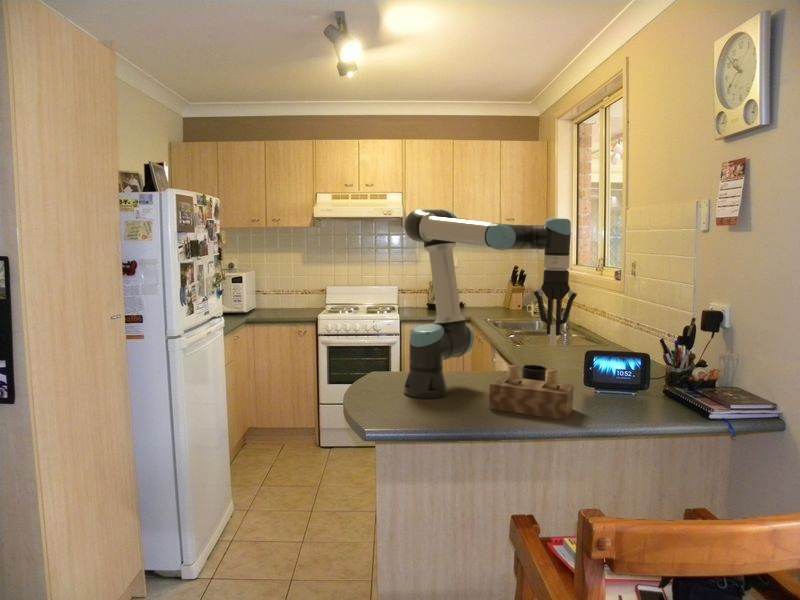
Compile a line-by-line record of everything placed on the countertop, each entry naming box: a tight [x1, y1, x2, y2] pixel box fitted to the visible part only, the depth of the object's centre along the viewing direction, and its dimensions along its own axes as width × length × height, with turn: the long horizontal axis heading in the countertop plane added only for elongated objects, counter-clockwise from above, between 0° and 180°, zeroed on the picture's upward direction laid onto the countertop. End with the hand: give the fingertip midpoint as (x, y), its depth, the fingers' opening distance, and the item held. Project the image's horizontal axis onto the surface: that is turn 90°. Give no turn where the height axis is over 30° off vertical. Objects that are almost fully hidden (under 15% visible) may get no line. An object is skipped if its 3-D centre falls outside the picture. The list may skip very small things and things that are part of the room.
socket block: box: [488, 375, 575, 421], centre depth 179 cm, size 24×12×8 cm, turn 64°
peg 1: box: [507, 365, 520, 385], centre depth 181 cm, size 4×4×8 cm
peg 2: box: [545, 369, 558, 390], centre depth 176 cm, size 4×4×8 cm
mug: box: [521, 364, 548, 381], centre depth 197 cm, size 8×12×10 cm
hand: (553, 345), depth 174 cm, fingers closed
